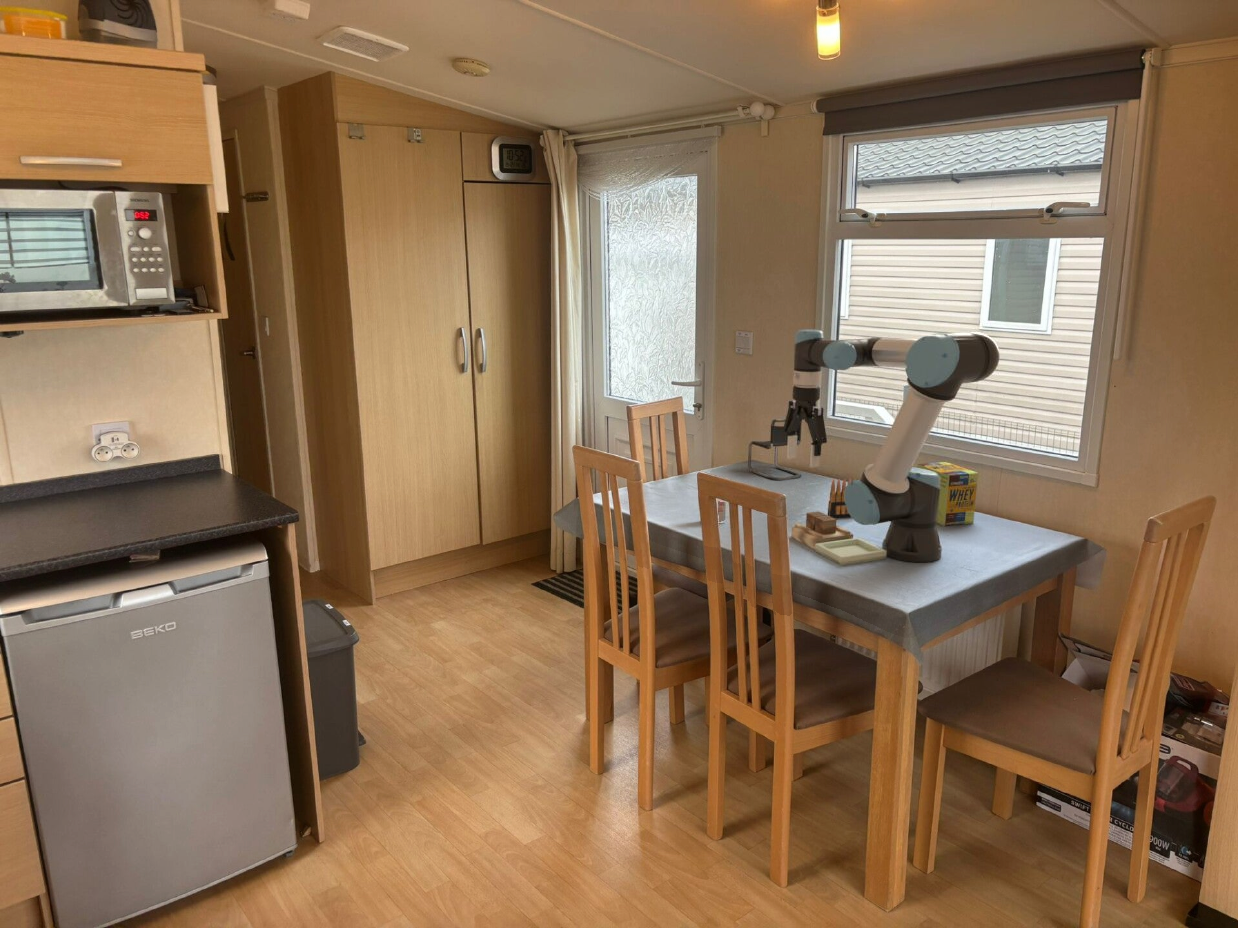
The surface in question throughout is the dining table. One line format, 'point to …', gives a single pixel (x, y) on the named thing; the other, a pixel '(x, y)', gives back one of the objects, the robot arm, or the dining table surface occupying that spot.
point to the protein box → (954, 493)
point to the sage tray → (850, 551)
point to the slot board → (818, 535)
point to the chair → (776, 440)
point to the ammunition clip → (838, 501)
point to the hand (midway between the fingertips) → (802, 462)
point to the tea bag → (721, 510)
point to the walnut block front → (825, 525)
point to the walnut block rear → (812, 519)
